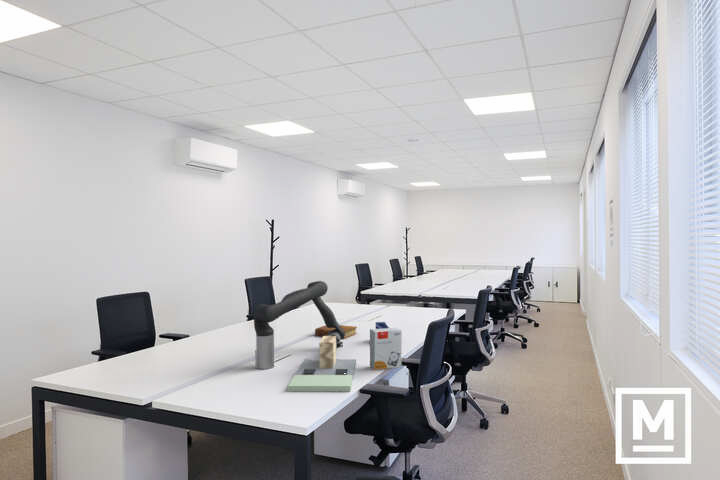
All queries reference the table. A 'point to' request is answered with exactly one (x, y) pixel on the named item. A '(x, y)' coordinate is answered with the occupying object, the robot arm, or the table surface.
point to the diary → (324, 330)
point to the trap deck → (323, 376)
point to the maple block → (327, 351)
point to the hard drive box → (385, 348)
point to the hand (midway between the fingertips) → (330, 348)
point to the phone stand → (381, 325)
